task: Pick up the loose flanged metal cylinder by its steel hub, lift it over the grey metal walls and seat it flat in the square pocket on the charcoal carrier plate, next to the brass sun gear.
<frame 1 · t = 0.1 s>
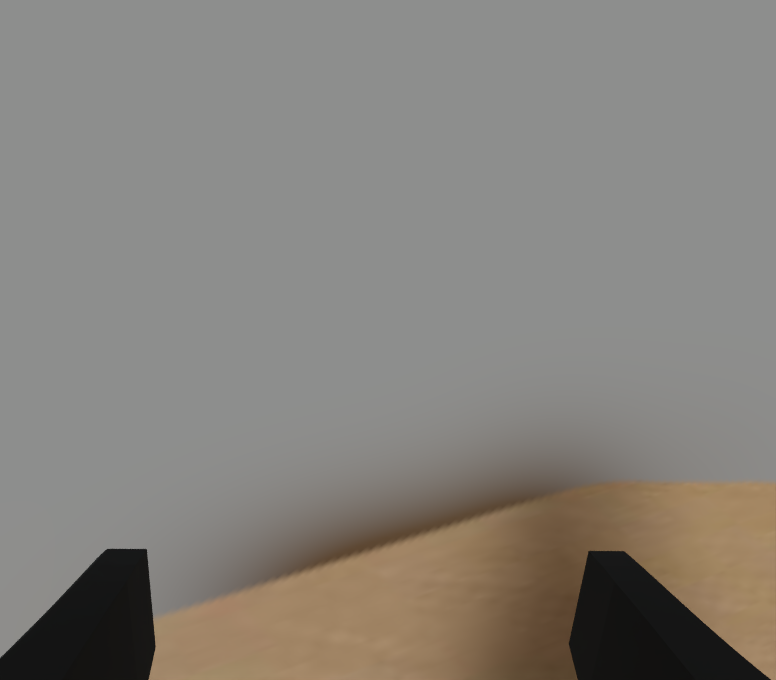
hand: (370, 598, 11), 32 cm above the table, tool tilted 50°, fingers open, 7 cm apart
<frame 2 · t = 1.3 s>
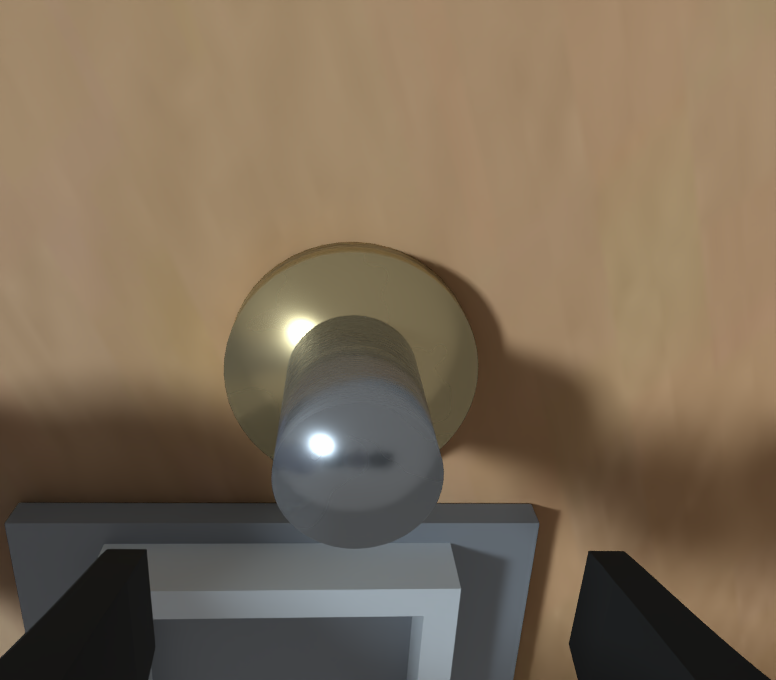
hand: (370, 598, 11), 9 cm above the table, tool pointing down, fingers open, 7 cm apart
flanged metal cylinder: (351, 358, 20), on the table
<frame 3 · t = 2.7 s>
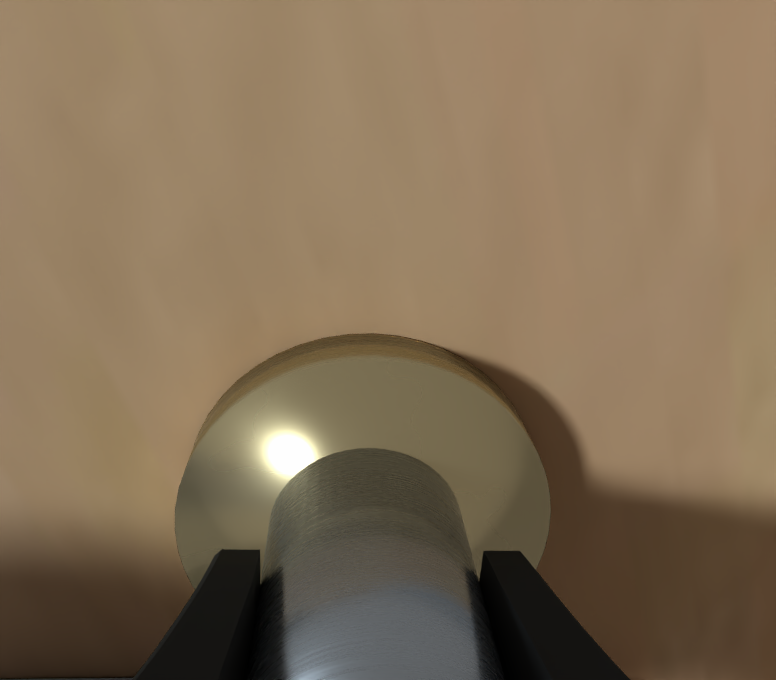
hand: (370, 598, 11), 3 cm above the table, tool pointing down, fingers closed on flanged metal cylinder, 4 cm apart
flanged metal cylinder: (363, 493, 14), on the table, touching gripper
when the fingers open (5 cm above the table, at t = 5.8 s): flanged metal cylinder drops 1 cm, resting on carrier.
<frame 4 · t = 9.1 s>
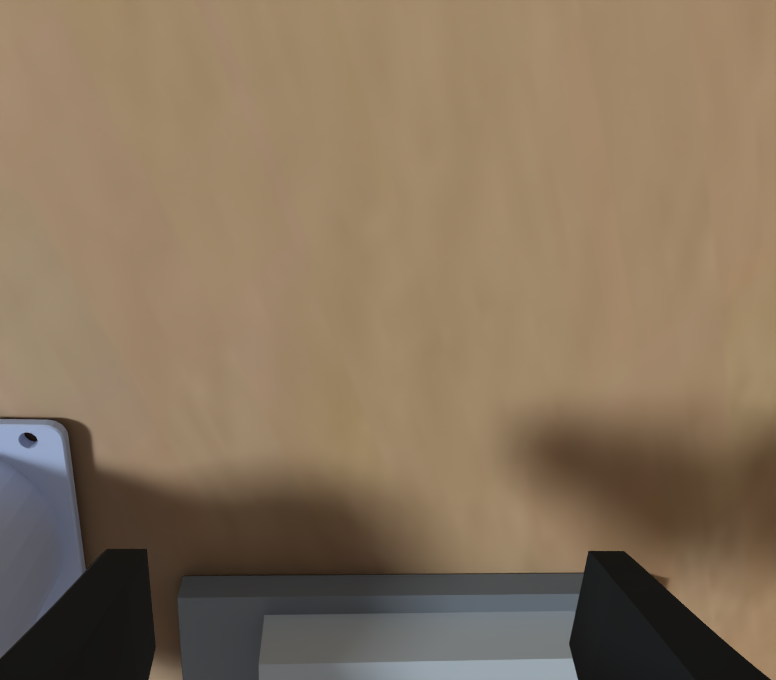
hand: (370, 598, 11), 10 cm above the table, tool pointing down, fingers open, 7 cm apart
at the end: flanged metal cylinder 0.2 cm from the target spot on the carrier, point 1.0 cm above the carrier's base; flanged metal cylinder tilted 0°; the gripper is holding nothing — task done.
